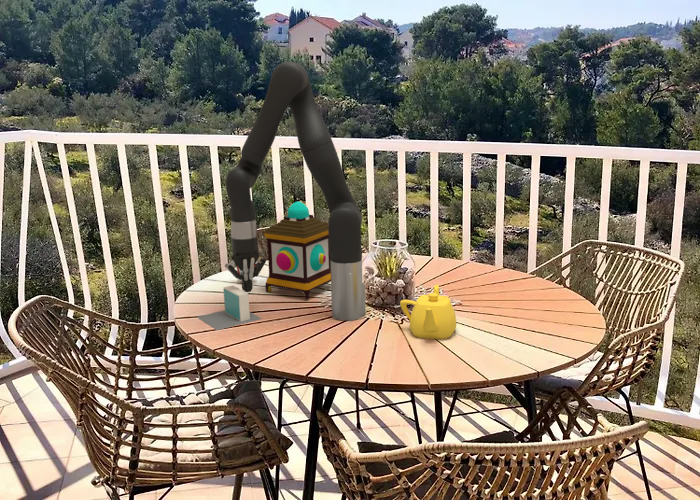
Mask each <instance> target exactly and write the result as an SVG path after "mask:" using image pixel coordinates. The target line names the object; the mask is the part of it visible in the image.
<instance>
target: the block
mask: <svg viewBox="0 0 700 500" xmlns="http://www.w3.org/2000/svg"><path fill="white" fill-rule="evenodd" d="M223 299H224V300H223V302H224V310H225V312H226V313H227V314H229V315H231V316H232V317H234V318H236V319H237V320H239V321H245V320H249V319H250V312H251V310H250V297H249V292H245V291H244V290H242V288H239V287H237V286H235V285H227V286H224V287H223Z"/></svg>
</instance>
